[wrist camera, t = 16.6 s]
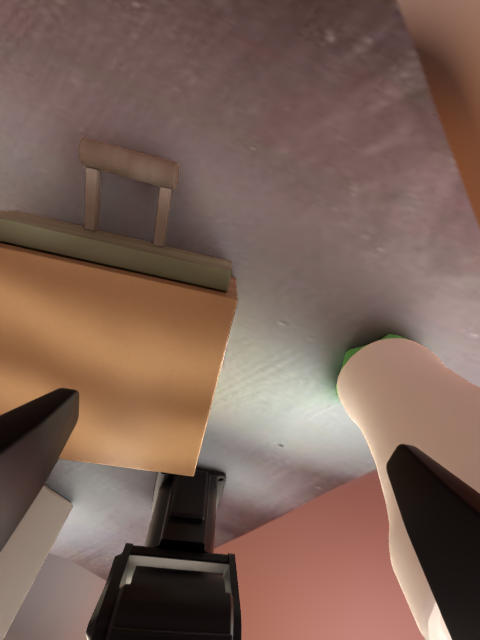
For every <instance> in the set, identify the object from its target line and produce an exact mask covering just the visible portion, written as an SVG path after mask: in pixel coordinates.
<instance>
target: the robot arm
mask: <svg viewBox="0 0 480 640" xmlns="http://www.w3.org/2000/svg"><path fill="white" fill-rule="evenodd" d="M78 417H79V392H78V391H77V390H75V389H69V388H58V389H56V390H54V391H52V392H49V393H47V394H45V395H43V396H41V397H39V398H36V399H34V400H32V401H30V402H28V403H26V404H23V405H21V406H19V407H17V408H15V409H13V410H10V411H8V412H6V413H4V414H2V415H0V552H1V551H2V549H3V548H4V546H5V545H6V543H7V542H8V540H9V539H10V537H11V535H12V534H13V532H14V531H15V529H16V528H17V526H18V525H19V523H20V522H21V520H22V519H23V517H24V516H25V514H26V513H27V511H28V510H29V508H30V506H31V505H32V503H33V502H34V500H35V499H36V497H37V496H38V494H39V492H40V491H41V489H42V488H43V486H44V484H45V483H46V481H47V479H48V477H49V475H50V473H51V471H52V470H53V468H54V466H55V464H56V462H57V460H58V458H59V456H60V454H61V452H62V451H63V449H64V447H65V445H66V443H67V441H68V439H69V437H70V435H71V433H72V431H73V430H74V428H75V426H76V424H77V421H78ZM386 471H387V474H388V477H389V480H390V483H391V486H392V489H393V492H394V495H395V498H396V501H397V505H398V508H399V511H400V514H401V517H402V520H403V523H404V525H405V528H406V531H407V533H408V536H409V539H410V541H411V543H412V546H413V548H414V551H415V553H416V555H417V558H418V560H419V563H420V565H421V567H422V570H423V572H424V575H425V577H426V579H427V582H428V584H429V587H430V589H431V591H432V594H433V596H434V599H435V601H436V603H437V606H438V608H439V610H440V613H441V615H442V618H443V620H444V622H445V625H446V627H447V630H448V632H449V634H450V637H451V639H452V640H480V493H478V492H477V491H476V490H474V489H473V488H472V487H470V486H469V485H467V484H466V483H465V482H463V481H462V480H461V479H459V478H458V477H457V476H455V475H454V474H452V473H451V472H450V471H448V470H447V469H446V468H444V467H443V466H442V465H440V464H439V463H437V462H436V461H435V460H433V459H432V458H431V457H429V456H428V455H427V454H425V453H424V452H422V451H421V450H420V449H418V448H417V447H415V446H412V445H407V444H399V445H398V446H397V447H396V449H395V450H394V452H393V453H392V455H391V457H390V458H389V460H388V462H387V465H386ZM225 481H226V474H225V473H223V472H217V471H210V470H203V469H195V473H194V476H185V475H178V474H171V473H163V472H158V473H157V479H156V485H155V490H154V496H153V502H152V507H151V510H152V512H153V515H152V519H151V523H150V527H149V531H148V535H147V539H146V543H145V546H135V545H133V544H130V543H126V545H125V548H124V550H123V552H122V554H120V555H117V556H115V558H114V561H113V564H112V567H111V570H110V573H109V576H108V579H107V582H106V585H105V587H104V589H103V592H102V594H101V596H100V598H99V601H98V603H97V605H96V608H95V610H94V612H93V614H92V617H91V619H90V621H89V624H88V627H87V631H86V636H87V639H88V640H241V610H240V600H239V591H238V581H237V571H236V562H235V554H229V553H228V555H225V554H215V553H214V541H215V519H216V510H217V507H218V504H219V500H220V497H221V494H222V491H223V488H224V485H225Z"/></svg>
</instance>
